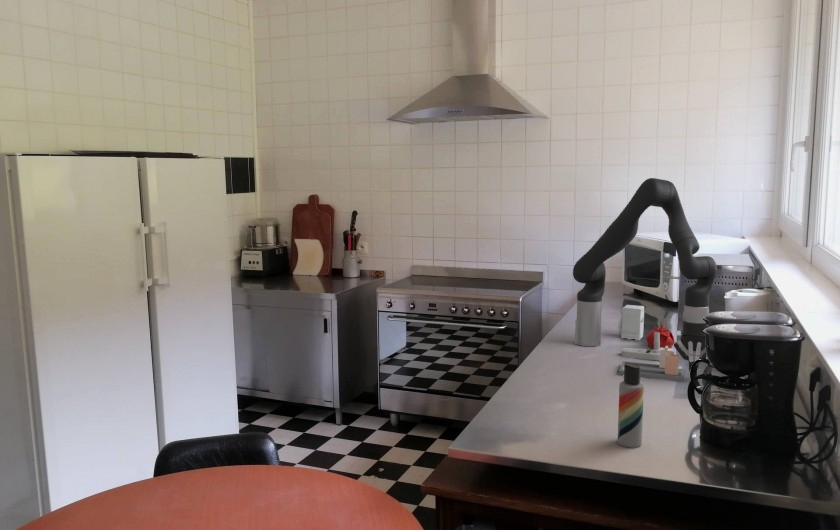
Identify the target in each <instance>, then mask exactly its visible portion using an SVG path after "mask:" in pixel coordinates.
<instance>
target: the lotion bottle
mask: <svg viewBox="0 0 840 530" xmlns="http://www.w3.org/2000/svg"><path fill="white" fill-rule="evenodd" d="M640 370H641V368H640V367H639V366H637V365H635V364H626V365H625V366H624V376H623V381H620V382H619V387H618V389H619V390H618V392H619V393H618V413H617V414H618V419H617V443H618V444H619V445H620V446H622V447H625V448H632V449H634V448H639V447H641V445H642V441H643V426H644V425H643V422H644V421H643V419H644V394H645V391H644V390H645V385H644V383H642V382H641V377H640Z"/></svg>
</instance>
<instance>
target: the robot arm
mask: <svg viewBox="0 0 840 530" xmlns="http://www.w3.org/2000/svg"><path fill="white" fill-rule="evenodd" d="M649 207H656V208H662V210H663V211H664V212H665V214H666V216H667V218H668V236H669V239H670V241H671V244H672V246H673V247H674V249H675V251H676V255H677V260H678V266H679V271H680V273H681V275H682V276H683V277H685V279H687V280H696V281H695V283H694V284H693V285H690V286H688V287H686V288H685V291H684V308H683V314H682V332H681V336H680V339H679V340H677V341H674V344H673V347H674V348H675V350H676V351H677V352H678V355H679V356H681V357H682V359H683V360H685V361H688V372H690V369H691V366H692V364H693V363H694V362H695V361H696V360H698V359H701V358H706V351H705V352H704V353H703V354H702V355H701V352H703V351H704V350H705V349H706V347H707V346H706V345H705V336H704V333H703V330H704V329H705V328H707V327H710V325H708V324H706V322H705V321H704V320H703V317H704V316H706V315H708V314H709V315H710V293H711V291H712V286H713V285H714V282H715V279H716V276H717V270H718V266H717V263H716V261H715V259H714V258H712V257H711V256H708V255H703V256H702V255H701V256H695V254H697V253H698V251H699V250H700V247H701V246H700V243H699V241H698V239H697V237H696V236H695V234H694V232H693V231H692V228H691V227H690V224H689V222H688V220H687V217H686V214H685V211H684V208H683V206H682V203H681V199H680V196H679V193H678V190H677V188H676V186H675V184H674V183H673V182H672V181H669V180H666V179H660V178H656V177H649V178H647V179H645V180H644V181H643V182H642V183H641V184H640V185H639V187H638V188H637V189H636V191H635V192H634V194H633V196H632V197H631V199H629V201H628V203H627V204H626V206H625V207H624V208H623V209H622V211H620V213H619V214H618V216H617V217H616V218H614V221H612V223H610V224H609V226H608V227H607V228H606V229H605V231H604V232H603V234H601V236H600V237H599V238H598V240H597V241H596V242H595V243H594V244H593V246H592V247H591V248H590V249H589V250H588V251H587V252H585V253H584V254H583V255H582V256H581V257H580V258H579V259H578V260H577V261H576V262H575V264H574V266H573V269H572V276H573V278H574V279H573V280H575V281H576V282H577V283H580V284H585V285H584V286H583V288H582V289H580V290H579V291H578V292H577V294H576V319H575V328H574V329H575V330H574V344H575V345H578V346H582V347H598V346H601V343H602V342H601V341H602V339H601V338H602V311H603V310H602V308H603V304H602V303H603V302H602V300H603V295H604V293H605V286H606V274H607V272H606V265H605V261H607V260H609V259H611V258H612V257H614V256H615V255H617V254H619V253H620V252H622V251H623V250H625V249H626V248H627V247H628V245H629V244H630V243H631V242H632V241H633V240H634V238H635V237H636V236H637V233H638V229H639V220H640V218H641V217H642V215H643V213H645V211H646V210H647V209H648V208H649ZM682 347H684V348H685V349H686V351H688V354H687V353H686V352H685V351H684V349H683V348H682ZM694 352H695V353H694ZM700 355H701V356H700ZM698 368H699V366H698Z"/></svg>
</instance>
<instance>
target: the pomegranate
mask: <svg viewBox="0 0 840 530" xmlns="http://www.w3.org/2000/svg"><path fill="white" fill-rule="evenodd" d="M659 325H660V326H659V327H656V326H652V329H651V330H650V331H649V332H648V333H646V334H647V335H645V336H646V337H645V341H646V343H647V344H648V346H649V347H650V348H651V349H652V350H653V349H654V332H659V333H660V348H665V346H668V348H671V349H673V347H674V342H675V337H674V335H673V332H672V331H671V330H669V329H667V327H664V323H660V324H659Z"/></svg>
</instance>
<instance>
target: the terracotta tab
mask: <svg viewBox="0 0 840 530" xmlns="http://www.w3.org/2000/svg"><path fill="white" fill-rule="evenodd" d="M679 363H680V354H675V352H674V351H673V352H671V354H666V356H665V374H669V375H678V367H679V365H680V364H679Z"/></svg>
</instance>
